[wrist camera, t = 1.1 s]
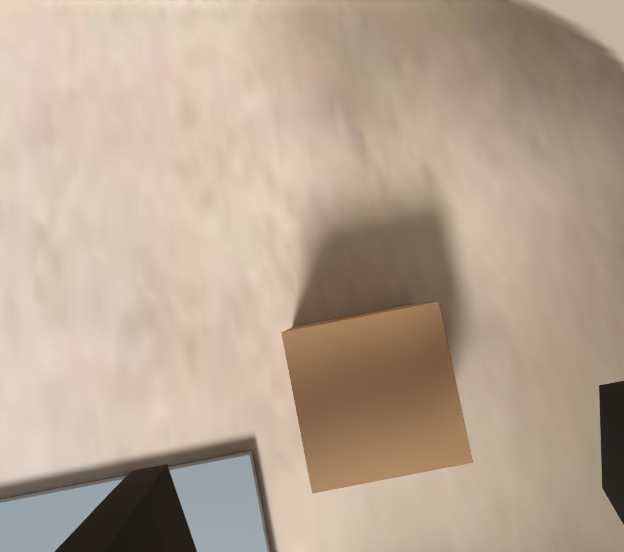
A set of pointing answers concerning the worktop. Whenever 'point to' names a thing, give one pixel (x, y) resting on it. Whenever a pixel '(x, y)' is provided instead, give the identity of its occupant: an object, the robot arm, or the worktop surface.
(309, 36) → the worktop surface
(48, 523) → the slate board
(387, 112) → the worktop surface
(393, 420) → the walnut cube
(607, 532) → the worktop surface
